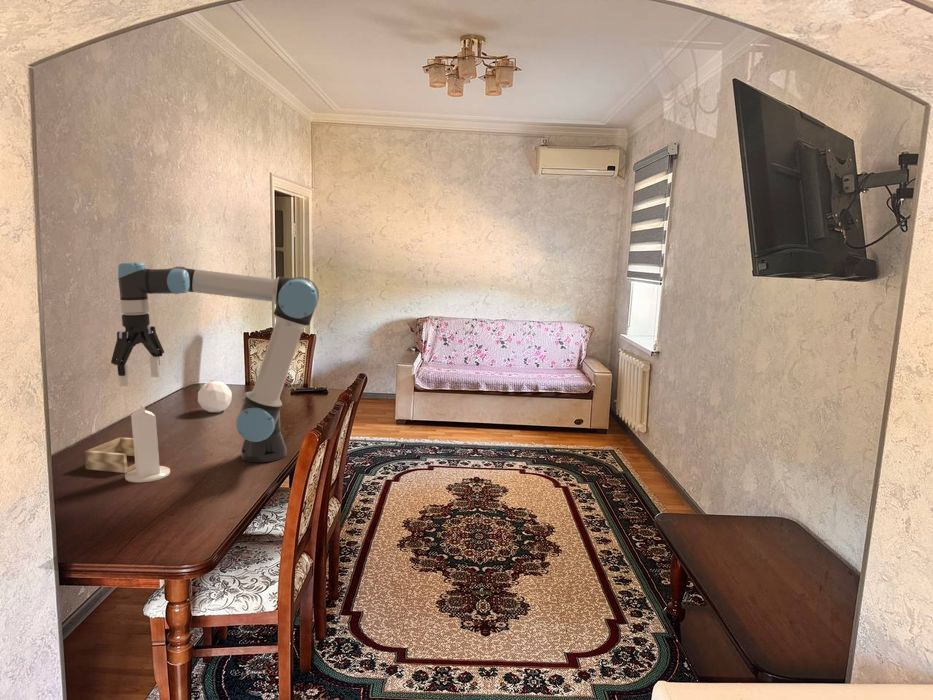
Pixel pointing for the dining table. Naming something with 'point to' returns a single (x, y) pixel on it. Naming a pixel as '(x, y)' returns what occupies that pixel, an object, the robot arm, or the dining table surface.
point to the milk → (145, 442)
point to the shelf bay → (110, 456)
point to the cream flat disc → (134, 477)
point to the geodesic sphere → (214, 396)
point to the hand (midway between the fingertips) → (140, 381)
